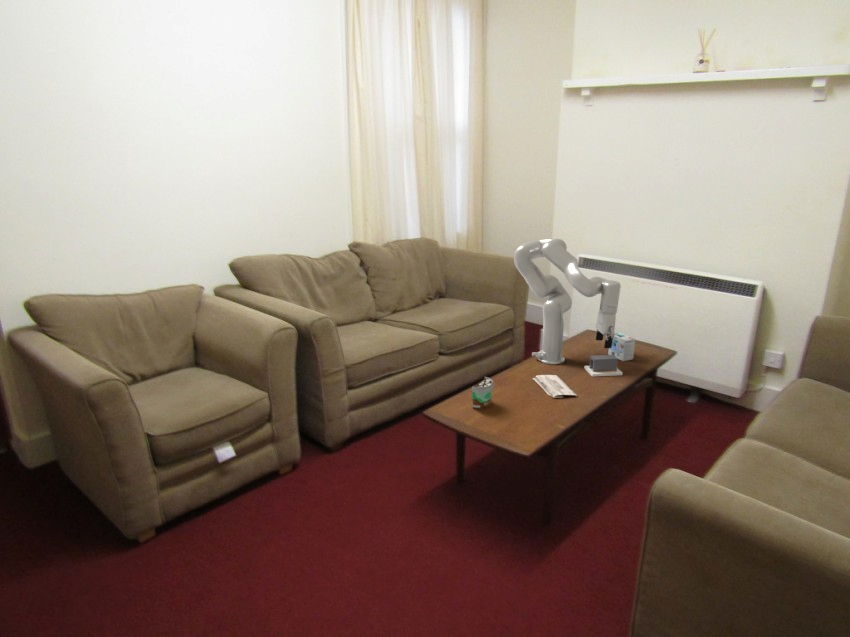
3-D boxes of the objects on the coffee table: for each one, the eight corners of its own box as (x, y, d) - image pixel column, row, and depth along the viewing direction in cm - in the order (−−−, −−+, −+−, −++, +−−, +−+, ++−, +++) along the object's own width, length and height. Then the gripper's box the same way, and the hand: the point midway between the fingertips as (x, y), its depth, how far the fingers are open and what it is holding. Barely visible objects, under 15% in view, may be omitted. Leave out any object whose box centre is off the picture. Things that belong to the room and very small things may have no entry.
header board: (592, 376, 255) (593, 365, 254) (584, 368, 265) (585, 357, 263) (622, 375, 257) (623, 364, 255) (613, 366, 266) (614, 356, 265)
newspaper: (531, 379, 255) (532, 374, 254) (556, 380, 257) (557, 375, 256) (550, 400, 233) (550, 395, 232) (577, 401, 235) (578, 395, 235)
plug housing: (593, 371, 258) (594, 359, 256) (589, 367, 262) (590, 355, 260) (616, 370, 259) (617, 358, 257) (612, 366, 263) (613, 354, 261)
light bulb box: (607, 354, 282) (609, 333, 278) (618, 352, 284) (620, 332, 281) (623, 361, 272) (625, 340, 269) (633, 359, 275) (636, 338, 272)
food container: (485, 413, 222) (485, 390, 219) (471, 409, 225) (471, 386, 222) (498, 401, 232) (499, 379, 229) (484, 398, 235) (485, 376, 232)
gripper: (592, 302, 259) (588, 337, 265) (608, 314, 243) (602, 351, 249) (608, 302, 260) (603, 337, 266) (624, 314, 244) (619, 351, 250)
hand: (603, 344), depth 257 cm, fingers open, 9 cm apart
